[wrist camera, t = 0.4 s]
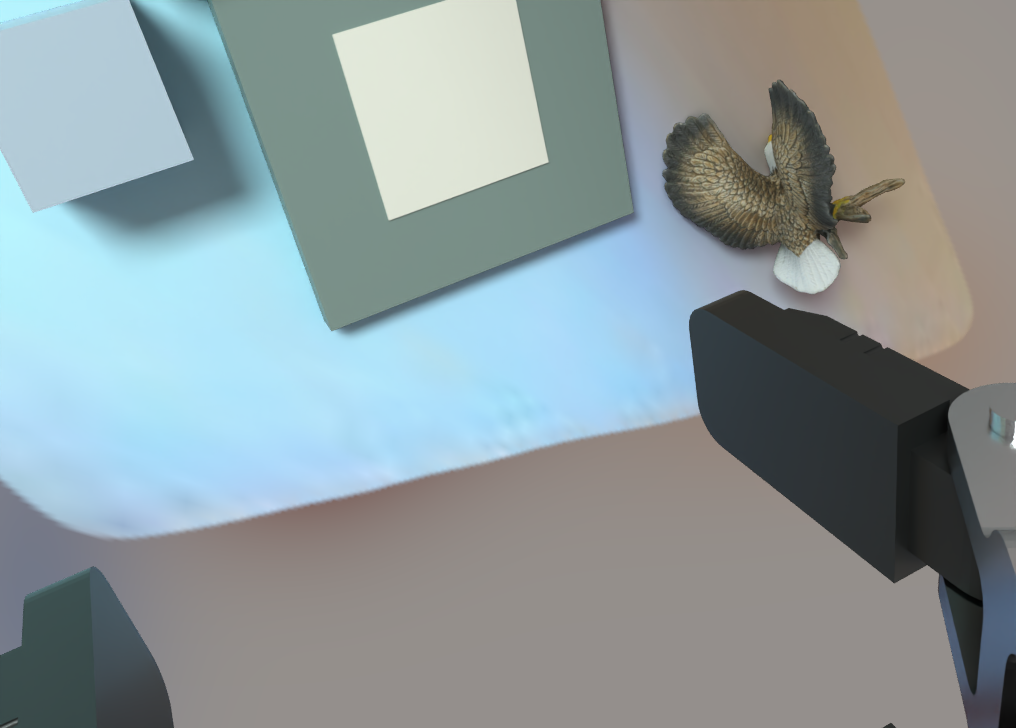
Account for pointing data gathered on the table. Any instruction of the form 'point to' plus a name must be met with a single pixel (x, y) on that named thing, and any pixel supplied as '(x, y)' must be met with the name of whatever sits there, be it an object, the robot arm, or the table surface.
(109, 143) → the blue-grey brick
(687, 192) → the eagle figurine
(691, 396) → the table surface
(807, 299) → the table surface
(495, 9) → the board
